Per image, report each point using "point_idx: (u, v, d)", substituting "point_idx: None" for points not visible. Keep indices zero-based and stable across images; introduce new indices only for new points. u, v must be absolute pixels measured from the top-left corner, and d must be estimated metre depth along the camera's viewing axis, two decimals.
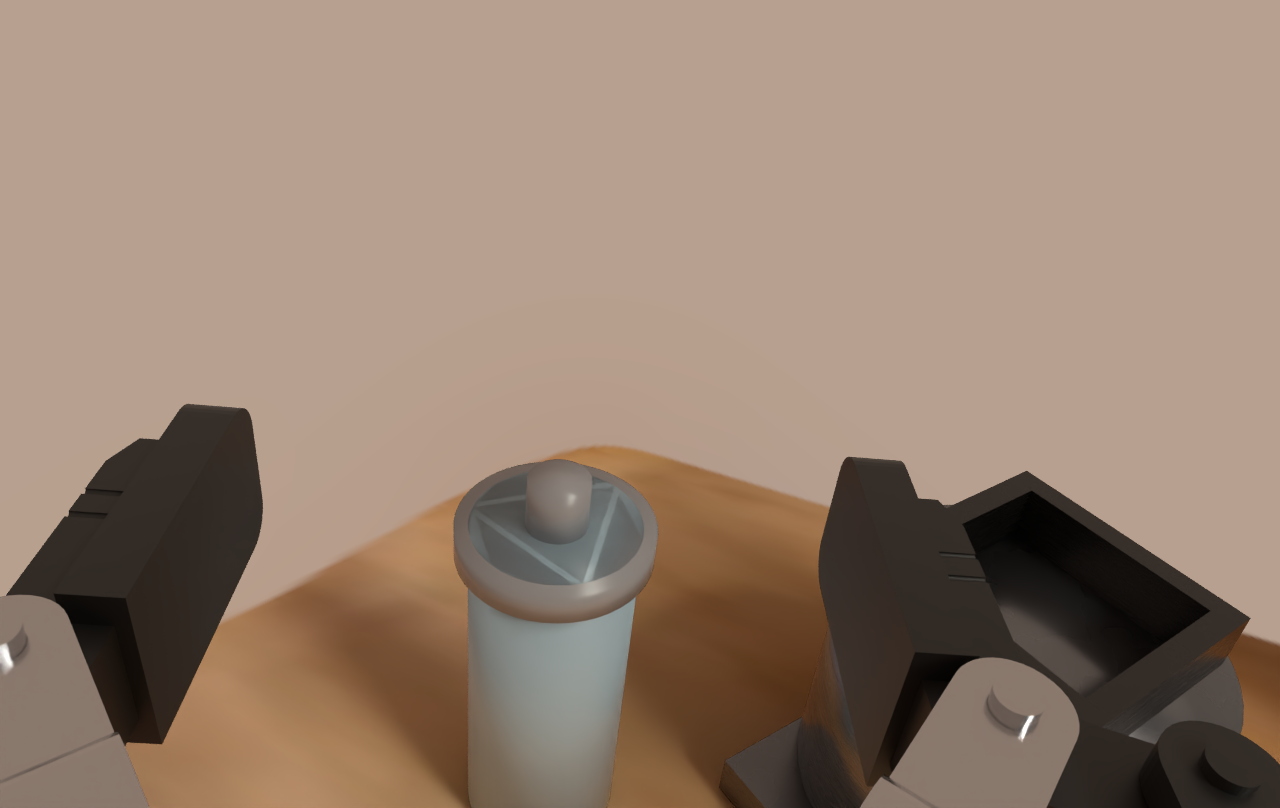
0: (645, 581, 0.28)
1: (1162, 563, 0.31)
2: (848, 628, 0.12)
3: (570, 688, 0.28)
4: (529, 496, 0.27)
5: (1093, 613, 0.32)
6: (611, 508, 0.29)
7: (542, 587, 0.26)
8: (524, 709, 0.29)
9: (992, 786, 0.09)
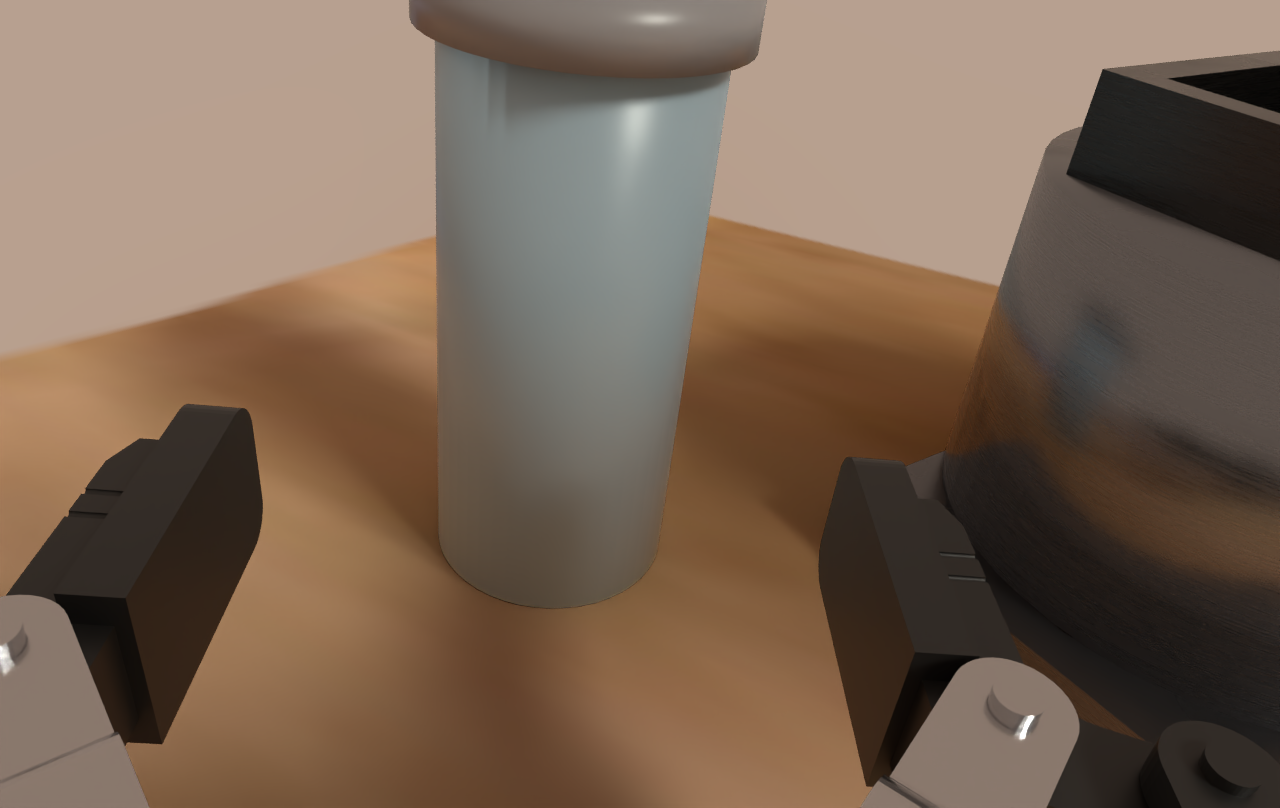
0: (748, 52, 0.16)
1: None
2: (848, 628, 0.12)
3: (610, 263, 0.16)
4: None
5: None
6: None
7: (567, 0, 0.14)
8: (529, 308, 0.17)
9: (992, 787, 0.09)
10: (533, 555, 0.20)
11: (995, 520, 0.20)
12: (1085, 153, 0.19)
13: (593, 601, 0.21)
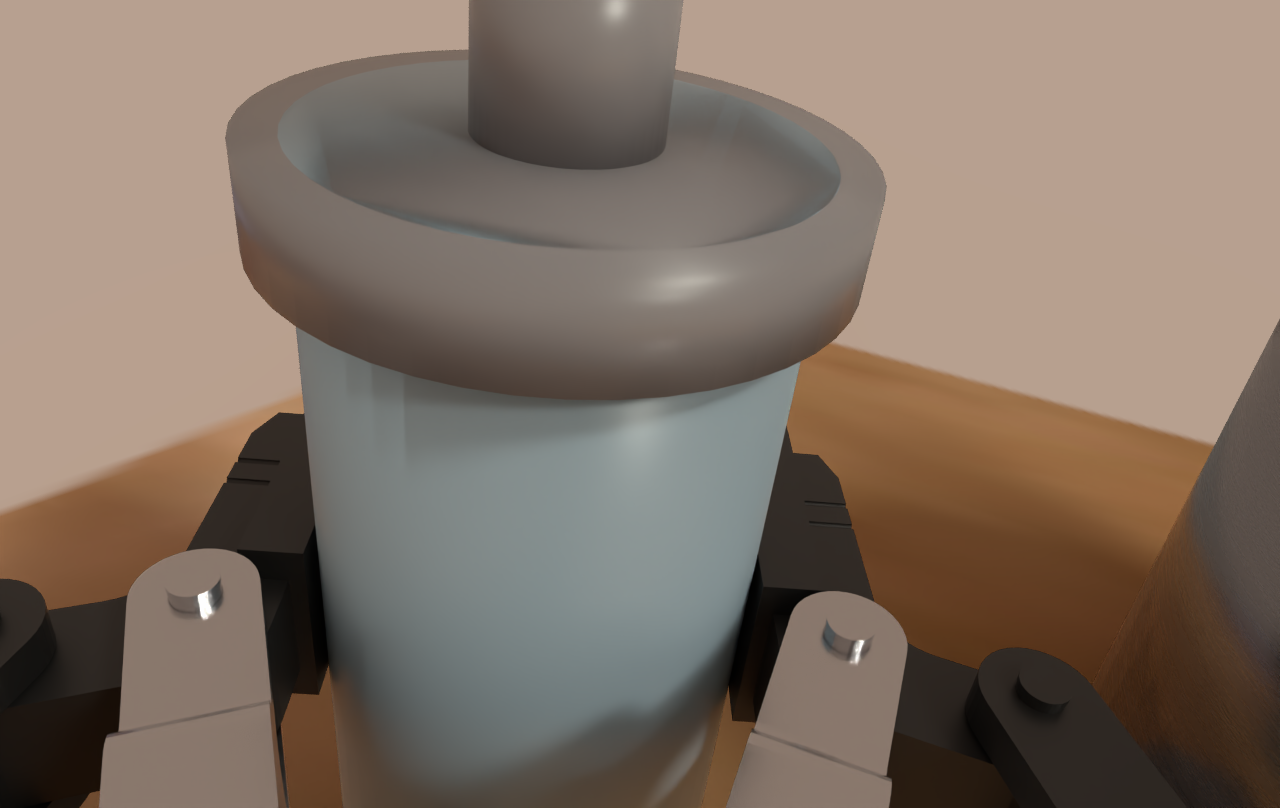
0: (853, 303, 0.09)
1: None
2: None
3: (603, 654, 0.09)
4: None
5: None
6: (728, 123, 0.10)
7: (513, 256, 0.07)
8: (463, 716, 0.10)
9: (846, 714, 0.09)
10: None
11: None
12: None
13: None
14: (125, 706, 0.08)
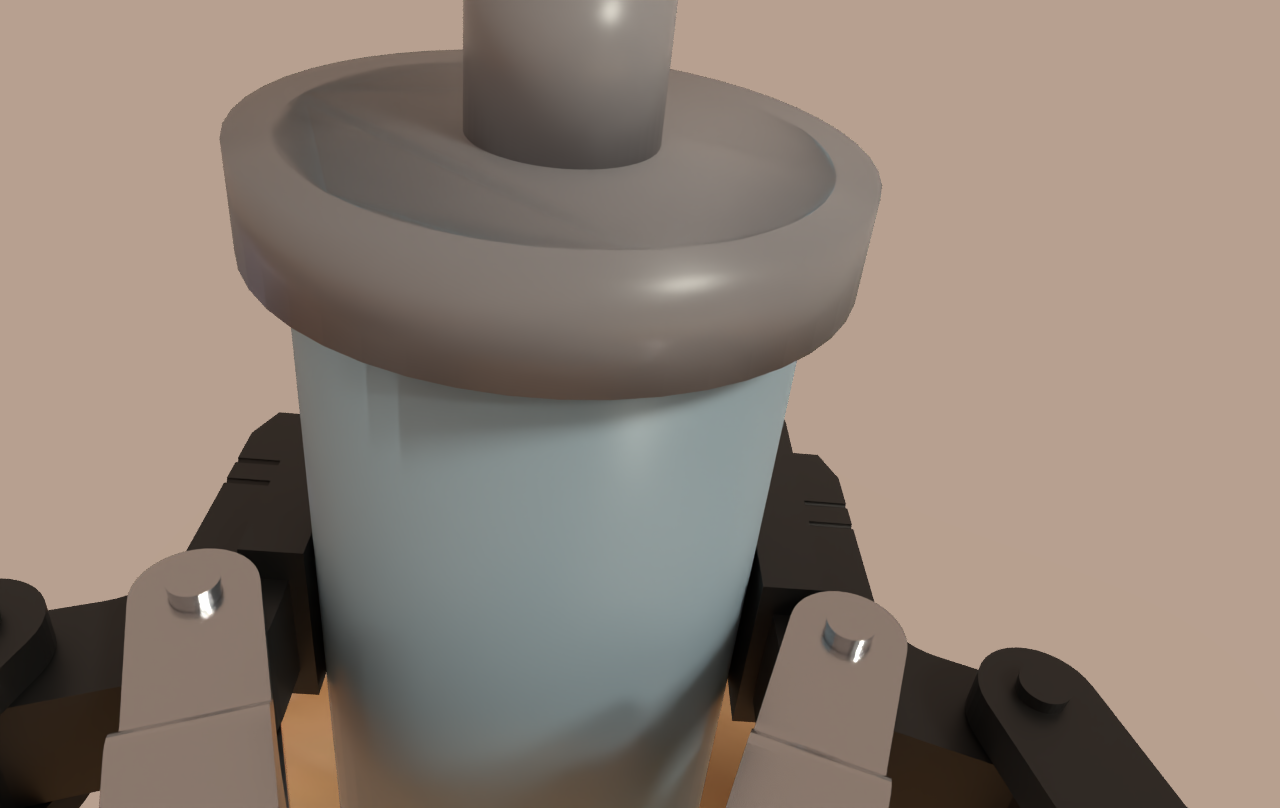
0: (848, 303, 0.09)
1: None
2: None
3: (600, 654, 0.09)
4: None
5: None
6: (724, 123, 0.10)
7: (506, 257, 0.07)
8: (460, 716, 0.10)
9: (846, 714, 0.09)
10: None
11: None
12: None
13: None
14: (125, 707, 0.08)
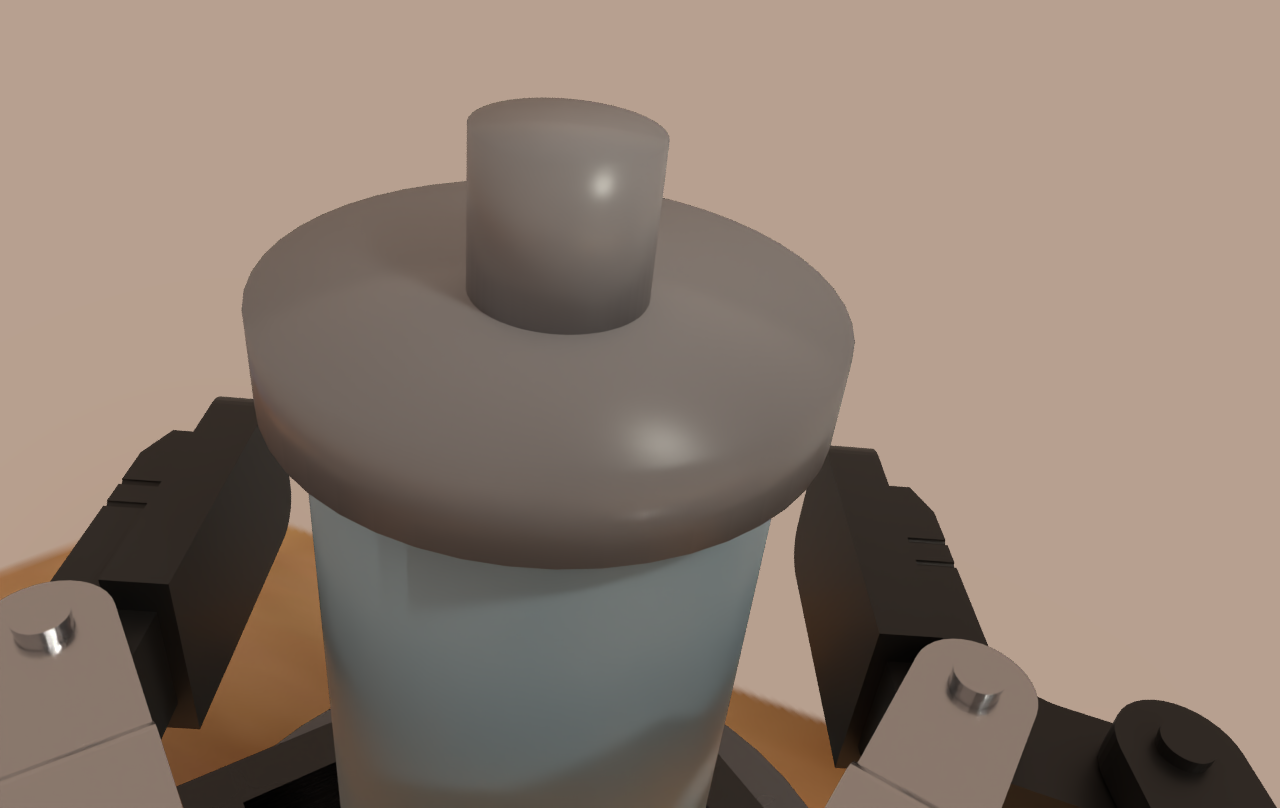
0: (823, 454, 0.09)
1: None
2: (820, 613, 0.13)
3: (593, 770, 0.10)
4: (474, 170, 0.09)
5: None
6: (710, 267, 0.10)
7: (506, 442, 0.08)
8: None
9: (957, 765, 0.09)
10: None
11: None
12: None
13: None
14: None
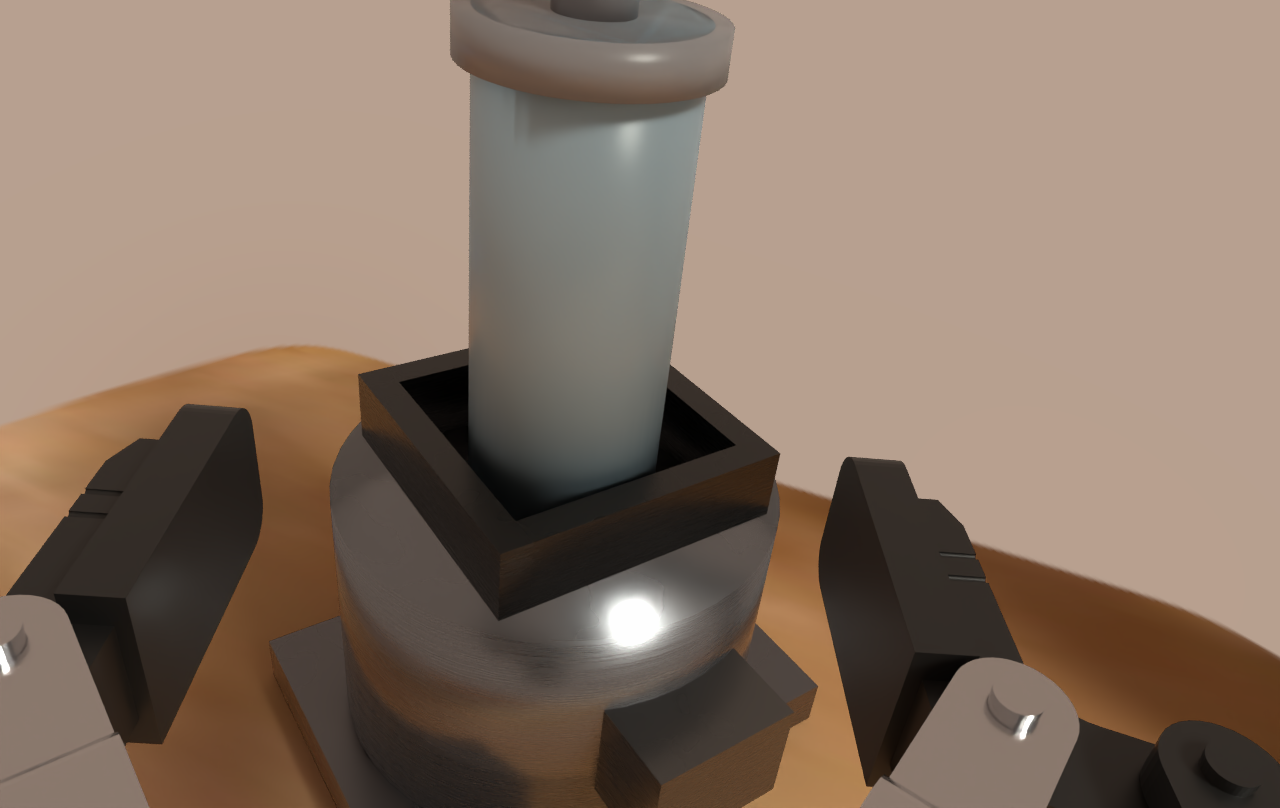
0: (718, 81, 0.20)
1: (709, 401, 0.27)
2: (848, 628, 0.12)
3: (611, 249, 0.21)
4: None
5: None
6: (668, 10, 0.21)
7: (577, 44, 0.18)
8: (546, 285, 0.21)
9: (992, 786, 0.09)
10: (548, 491, 0.24)
11: None
12: (364, 425, 0.27)
13: None
14: None
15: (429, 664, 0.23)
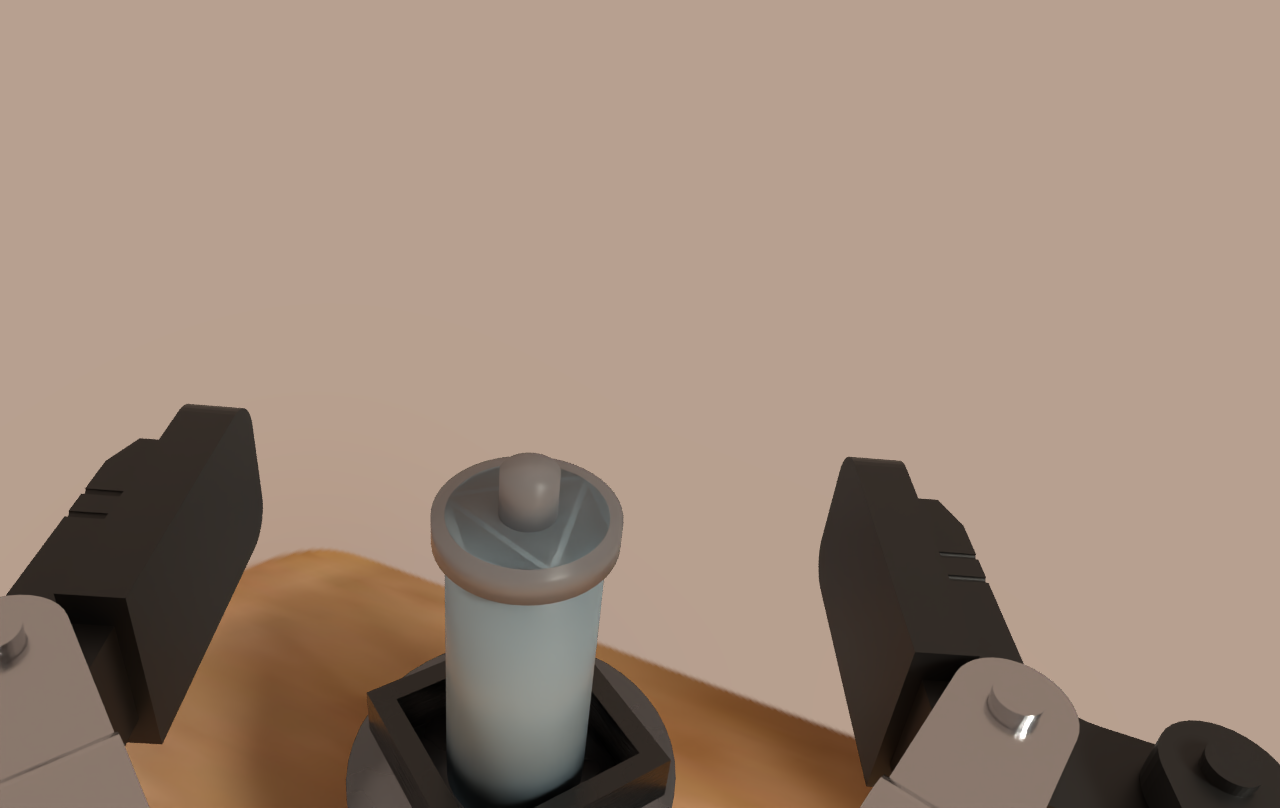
0: (610, 567, 0.30)
1: (624, 707, 0.37)
2: (848, 628, 0.12)
3: (540, 668, 0.30)
4: (501, 486, 0.29)
5: None
6: (580, 499, 0.31)
7: (512, 571, 0.28)
8: (496, 688, 0.31)
9: (992, 787, 0.09)
10: (502, 799, 0.34)
11: None
12: (371, 724, 0.37)
13: None
14: None
15: None
